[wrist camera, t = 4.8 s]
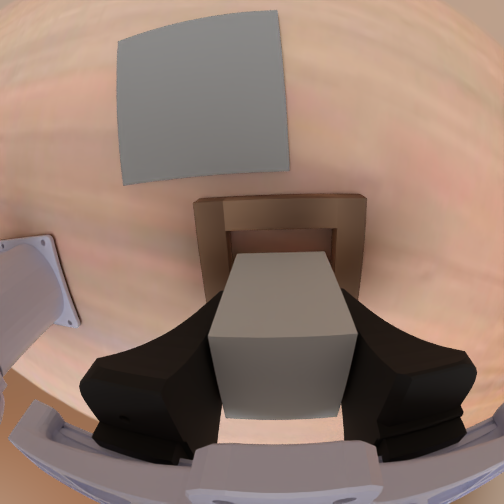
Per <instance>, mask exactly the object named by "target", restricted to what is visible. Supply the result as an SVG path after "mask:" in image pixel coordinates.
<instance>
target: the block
mask: <svg viewBox="0 0 504 504" xmlns="http://www.w3.org/2000/svg"><path fill="white" fill-rule="evenodd" d="M357 334H358V333H357V330H356V328H355V325H354V322H353V320H352V317H351V314H350V312H349V309H348V307H347V304H346V302H345V299H344V297H343V294H342V292H341V289H340V287H339V284H338V282H337V280H336V277H335V275H334V272H333V270H332V268H331V265H330V263H329V261H328V258H327V256H326V254H325V252H324V251H321V252H281V253H240V254H237V255H236V258H235V261H234V264H233V266H232V269H231V272H230V275H229V278H228V280H227V283H226V286H225V289H224V292H223V295H222V297H221V300H220V303H219V306H218V309H217V312H216V314H215V317H214V320H213V323H212V326H211V329H210V332H209V334H208V340H209V345H210V350H211V355H212V360H213V364H214V369H215V374H216V378H217V383H218V387H219V392H220V396H221V400H222V404H223V409H224V413H225V417H226V418H234V419H256V420H291V419H313V418H327V417H337V415H338V411H339V408H340V405H341V401H342V398H343V394H344V390H345V387H346V383H347V379H348V375H349V371H350V367H351V362H352V358H353V354H354V349H355V344H356V339H357Z"/></svg>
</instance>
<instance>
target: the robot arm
mask: <svg viewBox="0 0 504 504" xmlns="http://www.w3.org/2000/svg"><path fill="white" fill-rule="evenodd" d="M340 289H341V292H342V294H343V297H344V299H345V302H346V304H347V307H348V309H349V312H350V314H351V317H352V320H353V322H354V325H355V328H356V330H357V333H358V334H357V339H356V344H355V349H354V354H353V358H352V362H351V367H350V371H349V375H348V379H347V383H346V387H345V390H344V394H343V398H342V401H341V405H342V415H343V426H344V441H333V442H323V443H309V444H281V445H269V444H241V443H217V440H218V431H219V423H220V416H221V409H222V400H221V396H220V392H219V387H218V383H217V378H216V374H215V369H214V364H213V360H212V355H211V350H210V345H209V340H208V334H209V332H210V329H211V326H212V323H213V320H214V317H215V314H216V312H217V309H218V306H219V303H220V300H221V297H222V295H223V292H224V291H220V292H218V293H217V294H216V295H215V296H214V297H213V298H212V299H211V300H210V301H209V302H207V303H206V304H205V305H204V306H203V307H202V308H201V309H199V310H198V311H197V312H196V313H195V314H193V315H192V316H191V317H189V318H188V319H187V320H186V321H184V322H183V323H182V324H180V325H179V326H177V327H176V328H174V329H172V330H171V331H169V332H167V333H166V334H164V335H162V336H160V337H158V338H156V339H154V340H152V341H150V342H148V343H146V344H143V345H141V346H138V347H136V348H133V349H130V350H127V351H124V352H121V353H117V354H113V355H109V356H105V357H101V358H97V359H96V360H95V362H94V363H93V364H92V366H91V367H90V369H89V370H88V371H87V373H86V374H85V376H84V377H83V379H82V380H81V381H80V385H79V388H80V392H81V395H82V397H83V399H84V400H85V402H86V403H87V405H88V406H89V408H90V409H91V411H92V412H93V413H94V415H95V416H96V417H97V419H98V420H99V421H100V422H99V424H98V426H97V427H96V429H95V431H94V433H90V432H88V431H85V430H83V429H80V428H78V427H76V426H73V425H71V424H69V423H66V422H65V421H64V419H63V418H62V417H61V415H60V414H59V413H58V412H57V411H56V410H55V409H54V408H52V407H50V406H48V405H46V404H44V403H42V402H40V401H38V400H34V401H33V402H32V404H31V405H30V406H29V408H28V409H27V411H26V412H25V413H24V415H23V416H22V418H21V419H20V421H19V422H18V423H17V425H16V426H15V428H14V429H13V431H12V432H11V434H10V435H9V437H8V439H9V441H10V442H11V443H12V444H13V445H14V446H16V448H17V449H19V450H20V451H21V452H22V453H23V454H24V455H25V456H26V457H27V458H29V459H30V460H31V461H32V462H33V463H34V464H36V465H37V466H38V467H39V468H40V469H41V470H43V471H44V472H45V473H47V474H49V475H50V476H52V477H53V478H55V479H57V480H58V481H60V482H62V483H63V484H65V485H67V486H68V487H70V488H72V489H74V490H75V491H77V492H79V493H81V494H83V495H85V496H87V497H88V498H90V499H92V500H94V501H96V502H99V503H101V504H449V503H451V502H453V501H455V500H457V499H458V498H461V497H463V496H464V495H466V494H468V493H470V492H472V491H473V490H475V489H477V488H479V487H480V486H482V485H484V484H485V483H487V482H488V481H490V480H492V479H493V478H495V477H496V476H498V475H499V474H501V473H502V472H504V403H503V404H502V405H501V406H500V407H499V408H498V409H497V410H496V412H495V413H494V415H493V417H491V418H489V419H487V420H485V421H482V422H480V423H478V424H476V425H474V426H472V427H469V428H467V429H465V427H464V424H463V422H462V420H461V418H460V417H461V416H462V415H463V410H462V408H461V406H460V405H461V404H462V402H463V401H464V399H465V398H466V396H467V394H468V393H469V391H470V390H471V388H472V386H473V384H474V382H475V379H476V375H477V370H476V367H475V366H474V364H473V363H472V361H471V360H470V358H469V357H468V355H467V354H466V352H465V351H461V350H456V349H452V348H447V347H443V346H439V345H436V344H433V343H430V342H427V341H424V340H421V339H419V338H417V337H414V336H412V335H410V334H408V333H406V332H404V331H402V330H400V329H398V328H396V327H394V326H393V325H391V324H389V323H388V322H386V321H384V320H383V319H381V318H380V317H379V316H377V315H376V314H374V313H373V312H372V311H370V310H369V309H368V308H366V307H365V306H364V305H363V304H361V303H360V302H359V301H358V300H357V299H355V298H354V297H353V296H352V295H351V294H350V293H348V292H347V291H346V290H345V289H343V288H340ZM52 324H58V325H62V326H67V327H73V328H78V327H79V326H80V320H79V318H78V315H77V313H76V310H75V308H74V305H73V302H72V299H71V297H70V294H69V291H68V288H67V285H66V282H65V279H64V276H63V272H62V269H61V266H60V262H59V259H58V255H57V251H56V248H55V244H54V240H53V238H52V236H51V235H39V236H30V237H22V238H14V239H6V240H0V424H1V421H2V418H3V413H4V404H5V402H4V396H3V393H2V392H3V391H4V389H5V388H6V387H7V384H6V382H5V381H4V379H3V376H4V375H5V374H6V373H7V371H8V370H9V369H10V368H11V367H12V366H13V365H14V364H15V362H16V361H17V360H18V359H19V358H20V357H21V356H22V355H23V354H24V353H25V352H26V351H27V349H28V348H29V347H30V346H31V345H32V344H33V343H34V342H35V341H36V340H37V339H38V338H39V337H40V336H41V335H42V334H43V333H44V332H45V331H46V330H47V329H48V328H49V327H50V326H51V325H52Z"/></svg>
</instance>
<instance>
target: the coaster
mask: <svg viewBox="0 0 504 504" xmlns="http://www.w3.org/2000/svg"><path fill="white" fill-rule="evenodd" d="M117 121H118V138H119V150H120V161H121V171H122V179H123V186H125V185H132V184H139V183H146V182H153V181H161V180H169V179H178V178H187V177H197V176H209V175H221V174H235V173H253V172H277V171H290V169H289V147H288V128H287V112H286V98H285V84H284V72H283V61H282V50H281V40H280V31H279V22H278V13H277V10H270V11H252V12H241V13H232V14H224V15H217V16H211V17H205V18H200V19H194V20H190V21H185V22H181V23H176V24H172V25H168V26H165V27H161V28H157V29H154V30H150V31H147V32H144V33H141V34H138V35H135V36H132V37H129V38H126V39H124V40H121V41H118V50H117Z"/></svg>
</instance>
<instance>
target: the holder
mask: <svg viewBox="0 0 504 504" xmlns="http://www.w3.org/2000/svg"><path fill="white" fill-rule="evenodd" d="M193 208H194V216H195V225H196V233H197V241H198V248H199V256H200V263H201V270H202V277H203V283H204V290H205V296H206V302H209V301H210V300H211V299H212V298H213V297H214V296H215V295H216V294H217V293H218V292H220V291H224V289H225V286H226V283H227V280H228V278H229V275H230V272H231V269H232V266H233V259H232V248H231V237H230V231H239V230H271V229H313V228H332V248H331V268H332V270H333V272H334V275H335V277H336V280H337V282H338V284H339V287H340V288H343V289H345V290H346V291H347V292H348V293H350V294H351V295H352V296H353V297H354V298H355V299H357V300H358V296H359V288H360V280H361V272H362V263H363V252H364V241H365V227H366V208H367V198H366V197H364V196H362V195H360V194H283V195H254V196H234V197H217V198H202V199H198V200H197V201H195V202H194V203H193Z"/></svg>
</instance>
